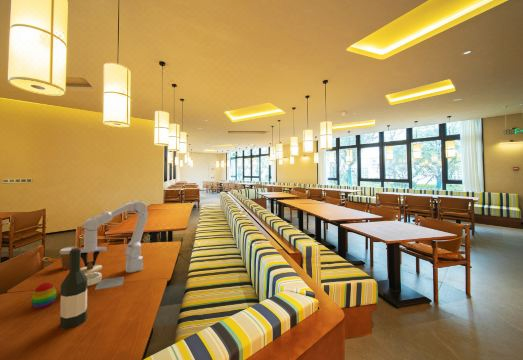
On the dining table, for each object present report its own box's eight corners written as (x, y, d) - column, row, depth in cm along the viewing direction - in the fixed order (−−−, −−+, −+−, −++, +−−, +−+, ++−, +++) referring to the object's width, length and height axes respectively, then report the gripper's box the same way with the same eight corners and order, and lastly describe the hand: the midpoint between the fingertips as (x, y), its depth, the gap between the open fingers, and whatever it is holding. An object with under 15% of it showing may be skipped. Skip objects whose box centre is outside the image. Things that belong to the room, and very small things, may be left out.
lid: (106, 265, 128) (106, 258, 128) (95, 273, 117) (95, 265, 117) (84, 266, 126) (85, 259, 126) (71, 274, 115) (72, 266, 115)
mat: (124, 277, 129) (124, 276, 129) (122, 286, 119) (122, 285, 119) (98, 282, 124) (98, 280, 124) (94, 291, 113) (94, 290, 113)
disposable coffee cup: (67, 271, 137) (67, 251, 136) (54, 269, 138) (55, 250, 138) (82, 265, 146) (82, 247, 146) (70, 263, 148) (71, 245, 148)
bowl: (102, 277, 129) (102, 271, 128) (99, 285, 120) (99, 278, 120) (80, 281, 124) (80, 274, 124) (75, 289, 115) (75, 282, 115)
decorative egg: (44, 299, 105) (44, 278, 105) (61, 300, 105) (61, 279, 105) (25, 309, 97) (26, 287, 97) (43, 310, 97) (44, 287, 97)
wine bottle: (70, 316, 93) (72, 245, 93) (91, 315, 94) (93, 245, 94) (54, 329, 85) (55, 251, 85) (77, 328, 86) (78, 251, 86)
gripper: (107, 237, 128) (107, 261, 129) (75, 240, 122) (75, 265, 122) (105, 240, 122) (105, 265, 122) (72, 244, 115) (71, 270, 115)
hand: (90, 265), depth 122 cm, fingers closed on lid, 3 cm apart
